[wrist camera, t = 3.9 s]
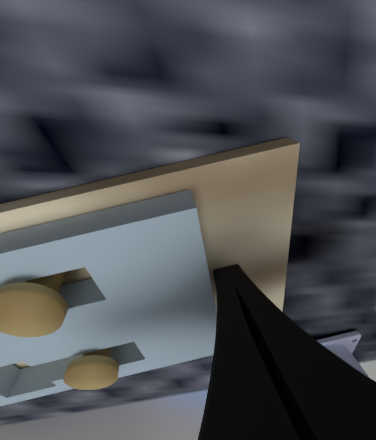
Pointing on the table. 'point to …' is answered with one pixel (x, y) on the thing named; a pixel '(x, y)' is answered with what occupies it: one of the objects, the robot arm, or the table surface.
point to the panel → (112, 292)
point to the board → (209, 224)
